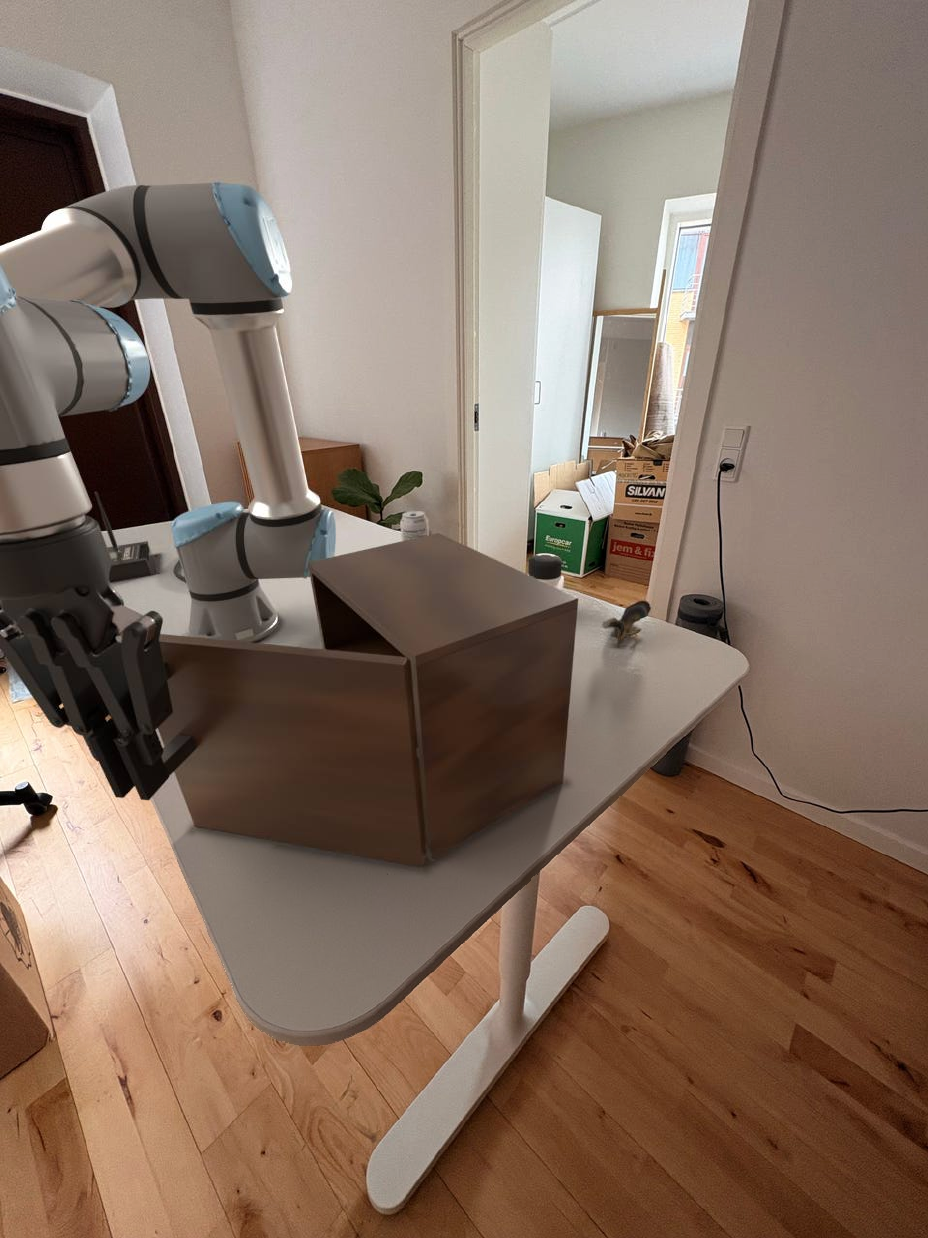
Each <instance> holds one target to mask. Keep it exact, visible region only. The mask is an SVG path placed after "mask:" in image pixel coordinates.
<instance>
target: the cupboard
mask: <svg viewBox="0 0 928 1238" xmlns="http://www.w3.org/2000/svg"><path fill="white" fill-rule="evenodd" d="M308 568H309V573H310V577H309V578H310V585H311V589H312V595H313V600H314V606H315V612H316V617H317V624H318V629H319V634H320V640H321V645H322V646H321V647H322V649H325V650H335V651H346V652H356V653H367V654H377V655H388V656H398V657H408V662H409V673H410V684H411V695H412V706H413V718H414V729H415V740H416V751H417V762H418V774H419V785H420V796H421V807H422V819H423V830H424V841H425V852H427V854H428V855H429V856H430V858H431V859H434V858H435V857H437V856H439V855H441V854H442V853H444V852H446V851H447V850H449V849H451V848H452V847H454V846H456V845H458V844H459V843H461V842H463V841H465V840H466V839H468V838H470V837H471V836H473V835H475V834H476V833H478V832H480V831H482V830H484V829H485V828H487V827H489V826H490V825H492V824H494V823H495V822H497V821H499V820H501V819H502V818H504V817H505V816H508V815H510V814H511V813H512V812H514V811H516V810H518V809H520V808H521V807H523V806H525V805H526V804H528V803H530V802H532V801H533V800H535V799H537V798H538V797H540V796H541V795H544V794H545V793H547V792H549V791H550V790H553V789H554V788H556V787H557V786H559V785H561V784H563V782H564V777H565V776H564V774H565V764H566V763H565V761H566V751H567V740H568V739H567V738H568V726H569V716H570V715H569V714H570V704H571V691H572V681H573V680H572V679H573V667H574V655H575V645H576V631H577V621H578V620H577V619H578V608H579V597H576V596H574V595H572V594H571V593H568V592H566V591H564V590H563V591H562V590H559V589H557V588H555V587H553V586H551V585H549V584H547V583H544V582H542V581H540V580H538V579H536V578H534V577H532V576H529V575H527V574H528V573H525V572H523V571H521V570H519V569H516V568H514V567H512V566H510V565H508V564H506V563H504V562H502V561H500V560H497V559H495V558H493V557H491V556H489V555H486V554H485V553H482V552H481V551H478V550H476V549H473V548H471V547H469V546H467V545H465V544H463V543H461V542H459V541H457V540H454V539H452V538H450V537H448V536H445V535H444V534H442V533H439V532H437V533H433V534H429V535H427V536H423V537H419V538H414V539H410V540H405V541H402V540H401V541H397V542H392V543H388V544H383V545H380V546H379V545H378V546H375V547H371V548H365V549H361V550H358V551H353V552H349V553H344V554H340V555H336V556H335V555H334V557H330V558H326V559H322V560H317V561H313V562H308Z"/></svg>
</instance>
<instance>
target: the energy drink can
mask: <svg viewBox="0 0 928 1238" xmlns="http://www.w3.org/2000/svg"><path fill="white" fill-rule="evenodd" d="M399 525H400V535H401V537H400V538H401V541H405V540H410V539H414V538H419V537H423V536H427V535H430V528H429V519H428V518H427V515H426V512H425V511H423V510H410V511H408V510H407V511H404V512H403V513H402V518H401V519H400V522H399Z"/></svg>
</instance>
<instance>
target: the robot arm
mask: <svg viewBox="0 0 928 1238" xmlns="http://www.w3.org/2000/svg"><path fill="white" fill-rule="evenodd" d="M291 273H292V272H291V265H290V261H289V257H288V253H287V250H286V246H285V243H284V239H283V236H282V234H281V231H280V228H279V226H278V223H277V221H276V219H275V216H274V213H273V212H272V210H271V208H270V206H269V204H268V203H267V201H266V199H265V198H264V197H263V196H262V194H261V193H259V191H258V190H256V189H255V188H253V187H252V186H250V185H247V184H241V183H228V182H227V183H226V182H221V181H217V182H215V181H214V182H205V183H181V184H179V183H178V184H160V185H159V184H156V185H155V184H154V185H152V184H151V185H145V184H135V185H133V184H132V185H125V186H121V187H116V188H113V189H109V190H106V191H103V192H100V193H98V194H96V195H95V194H94V195H93V196H90V197H87V198H84V199H82V200H80V201H77V202H75V203H73V204H70V205H67V206H65V207H61V208H60V209H57V210H54V211H53V212H51V213H50V214H48V215H47V217H46V218H45V220H44V221H43V223H42V226H41V230H39V231H36V232H33V233H31V234H28V235H26V236H23V237H21V238H19V239H15V240H13V241H11V242H7V243H5V244H3V245H0V608H1V610H0V651H1V652H2V654H3V655H4V657H5V658H6V659H7V661H8V663H9V664H10V666H11V667H12V669H13V670H14V672H15V673H16V674H17V676H18V677H19V679H20V680H21V682H22V683H23V685H24V686H25V688H26V689H27V691H28V692H29V694H30V695H31V697H32V699H34V701H35V703H36V705H38V707H39V708H40V710H41V711H42V713H43V715H44V716H45V718H46V719H47V721H48V722H49V723H50V724H51V725H52V726H53V727H55V728H57V729H61V728H64V727H65V726H69V727H71V729H72V731H73V732H74V733H75V734H76V735H78V736H81V737H82V738H83V739H84V742H85V744H86V746H87V748H88V750H89V752H90V755H91V756H92V757H93V759H94V760H95V761H96V762H98V763H99V766H100V767H101V770H102V772H103V774H104V776H105V778H106V780H107V783H108V784H109V787H110V789H111V790H112V793H113V795H114V797H115V798H117V799H118V798H119V799H124V798H125V797H126V796H127V795H128V794H129V793H130V792H131V791H132V790H133V789H134V788H135V790H136V792H137V794H138V796H139V798H140V800H141V801H150V800H151V799H152V798H153V796H154V795H156V793H157V792H158V791H159V790H160V789H161V788H162V787H163V785H164V784H165V783H166V782H167V781H168V780H169V779H170V776H169V775H168V772H167V770H166V767H165V765H164V762H163V760H162V757H161V756H162V755H163V748H164V746H163V745H162V743H161V742H162V741H161V740H160V737H159V735H158V732H157V730H158V727H159V726H160V725H161V724H162V723H163V722H164V721H165V720H166V719H167V718H168V717H169V716H170V715H171V714H172V713H173V708H172V703H171V698H170V693H169V688H168V683H167V677H166V672H165V667H164V662H163V657H162V651H161V646H160V641H159V637H160V634H161V632H162V627H163V623H164V619H163V617H162V615H161V613H159V612H157V611H155V610H149V611H148V612H147V613H145V614H142V613H140V612H137V611H135V610H133V609H131V608H129V607H127V606H125V602H124V599H123V597H122V596H121V594H119V592H118V591H117V590H116V588H115V587H114V585H112V582H110V581H109V573H110V569H111V565H112V559H111V556H110V554H109V551H108V548H107V547H108V546H107V543H106V541H105V540H106V539H105V538H104V535H103V533H102V529H101V527H100V525H99V521H97V520H96V519H94V518H92V517H91V516H89V515H86V514H88V513H89V512H90V511H91V510H92V508H93V504H92V501H91V500H90V499H91V498H90V497H89V495H88V492H87V489H86V486H85V484H84V482H83V479H82V476H81V474H80V471H79V468H78V465H77V464H76V461H75V459H74V456H73V453H72V451H71V448H70V445H69V442H68V440H67V438H66V435H65V433H64V430H63V427H62V424H61V421H60V418H59V417H66V416H74V415H80V414H86V413H93V412H94V413H95V412H102V411H106V412H113V411H116V410H118V408H122V407H124V406H125V405H129V404H132V403H134V402H135V401H137V400H139V398H140V397H142V395H143V394H144V393H145V391H146V389H147V388H148V385H149V382H150V376H151V365H150V359H149V355H148V352H147V349H146V346H145V345H144V343H143V341H142V339H141V337H140V336H139V335H138V333H137V332H136V331H135V330H134V328H133V327H132V326H131V325H130V324H129V323H128V322H127V321H125V320H124V319H123V318H122V317H120V316H119V315H117V314H116V313H114V312H112V311H111V310H108V309H105V308H118V307H120V306H123V305H125V304H127V303H128V302H131V301H135V300H137V301H138V300H154V299H155V300H156V299H157V300H159V299H160V300H161V299H162V300H163V299H164V300H165V299H167V300H168V299H169V300H170V299H174V300H188V302H189V305H190V308H191V312H192V316H193V318H195V319H196V320H197V321H199V322H200V323H201V324H202V325H204V326H205V327H206V328H207V329H208V330H209V333H210V336H211V340H212V343H213V347H214V351H215V354H216V358H217V362H218V365H219V370H220V373H221V377H222V381H223V384H224V388H225V392H226V395H227V399H228V403H229V407H230V411H231V414H232V417H233V418H232V419H233V421H234V425H235V429H236V433H237V436H238V440H239V443H240V448H241V452H242V455H243V459H244V463H245V466H246V469H247V474H248V477H249V481H250V484H251V489H252V492H253V499H252V500H251V502H249V504H248V506H247V511H245V510H244V507H243V505H242V504H241V503H240V502H238V501H223V502H217V503H213V504H212V503H211V504H208V505H205V506H200V507H196V508H194V509H191V510H188V511H186V512H183V513H181V514H180V515H178V516H177V517H175V518H174V519H173V521H172V522H171V525H170V528H171V529H170V530H171V534H172V539H173V547H174V548H175V551H176V553H177V557H178V561H177V562H176V564H175V565H174V567H173V570H172V571H173V575H174V577H176V578H177V579H179V580H181V581H183V582H185V583H186V586H187V589H188V593H189V596H190V600H191V602H190V615H189V626H188V627H189V628H188V629H189V636H190V637H198V638H209V639H219V640H230V641H241V642H251V643H258V642H259V641H261V640H263V639H265V638H267V637H268V636H269V635H271V634H272V633H273V632H274V631H275V630H276V629H277V628H278V625H279V618H278V615H277V612H276V610H275V609H276V608H274V606H273V604H272V602H271V601H270V600H269V598H268V596H267V595H266V594H265V592H264V590H263V589H262V587H261V584H260V581H259V580H276V579H278V580H279V579H300V578H301V579H304V580H306V579H308V578H310V573H309V568H308V562H313V561H317V560H322V559H326V558H330V557H335V554H336V542H337V527H336V517H335V515H334V512H333V510H332V509H328V508H327V507H325V508H323V507H322V502H321V498H320V496H319V494H317V493H316V492H314V491H312V490H310V489H309V485H308V481H307V474H306V471H305V466H304V461H303V456H302V450H301V444H300V441H299V436H298V431H297V425H296V422H295V416H294V412H293V406H292V402H291V396H290V392H289V386H288V382H287V377H286V371H285V367H284V361H283V357H282V351H281V347H280V342H279V337H278V332H277V323H278V322H279V320H280V318H281V317H282V315H283V314H284V306H283V301H282V299H285V298H286V297H288V296H289V295H291V293H292V290H293V289H292V288H293V280H292V276H291ZM180 567H181V570H182V573H183V575H181V574H180V573H179V568H180ZM105 704H106V706H107V708H108V710H109V712H110V714H111V716H112V718H113V720H114V721H115V723H116V725H117V727H118V729H119V731H120V733H121V734H120V735H119V736H118V734H117V731H116V729H115V727H114V724H113V722H112V720H111V717H110V715H109V713H108V710H107V708H106V706H105ZM61 705H62V707H60V706H61ZM108 717H109V719H108V720H107V718H108Z"/></svg>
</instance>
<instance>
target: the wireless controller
mask: <svg viewBox="0 0 928 1238" xmlns="http://www.w3.org/2000/svg"><path fill="white" fill-rule="evenodd" d="M94 495H95V498H96V500H97V504H98V506H99V509H100V513H101V517H102V520H103V524H104V527H105V529H106V532H107V535H108V538H109V540H110V544H111V546H107V548H108V551H109V554H110V556H111V559H112V565H111V569H110V573H109V581H110V583H113V582H119V581H123V580H129V579H136V578H141V577H146V576H152V575H157V574H160V570H161V569H160V566H161V565H160V564H161V563H160V561H161V559H160V558H161V554H160V553H155V554H153V553H152V550H151V548H150V544H149V541H148V540H146V541H140V542H133V543H128V544H127V543H126V544H119V545H118V544H117V540H116V538H115V535H114V531H113V529H112V526H111V523H110V521H109V519H108V516H107V514H106V512H105V509H104V507H103V504H102V502H101V499H100V497H99V493H98V491H95V492H94Z"/></svg>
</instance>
